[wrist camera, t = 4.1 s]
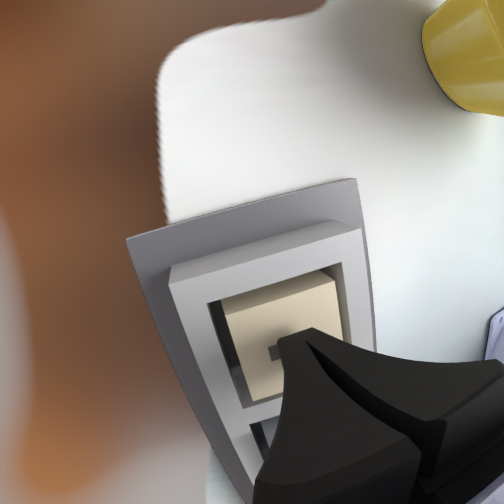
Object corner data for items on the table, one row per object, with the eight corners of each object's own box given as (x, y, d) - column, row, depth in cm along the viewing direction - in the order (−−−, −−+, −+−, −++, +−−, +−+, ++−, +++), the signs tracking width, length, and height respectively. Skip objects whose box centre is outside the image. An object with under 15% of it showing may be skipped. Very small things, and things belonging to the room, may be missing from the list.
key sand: (308, 262, 14) (335, 281, 11) (322, 339, 15) (347, 369, 12) (217, 289, 13) (225, 316, 10) (241, 367, 14) (253, 403, 11)
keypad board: (349, 178, 14) (387, 179, 11) (369, 497, 21) (383, 518, 18) (127, 237, 12) (111, 254, 10) (267, 534, 20) (275, 558, 17)
